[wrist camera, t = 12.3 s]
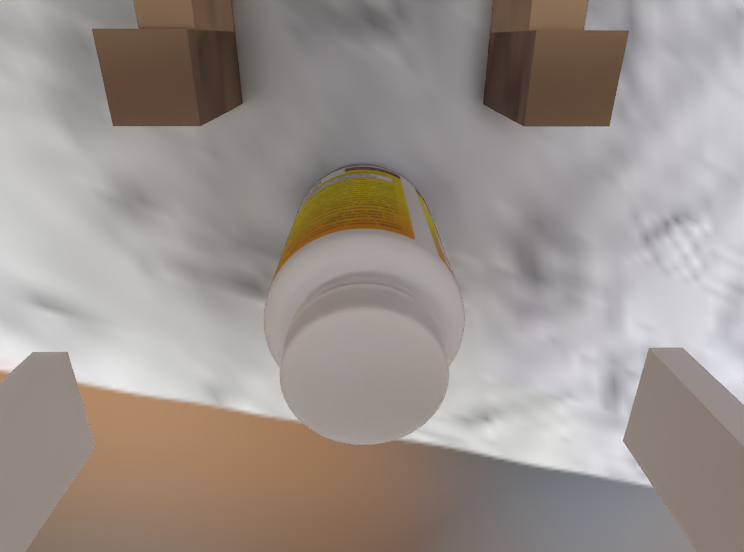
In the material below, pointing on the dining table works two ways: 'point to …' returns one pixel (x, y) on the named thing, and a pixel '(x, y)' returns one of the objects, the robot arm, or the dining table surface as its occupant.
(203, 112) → the walnut channel
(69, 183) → the dining table surface
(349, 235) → the supplement bottle
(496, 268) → the dining table surface
